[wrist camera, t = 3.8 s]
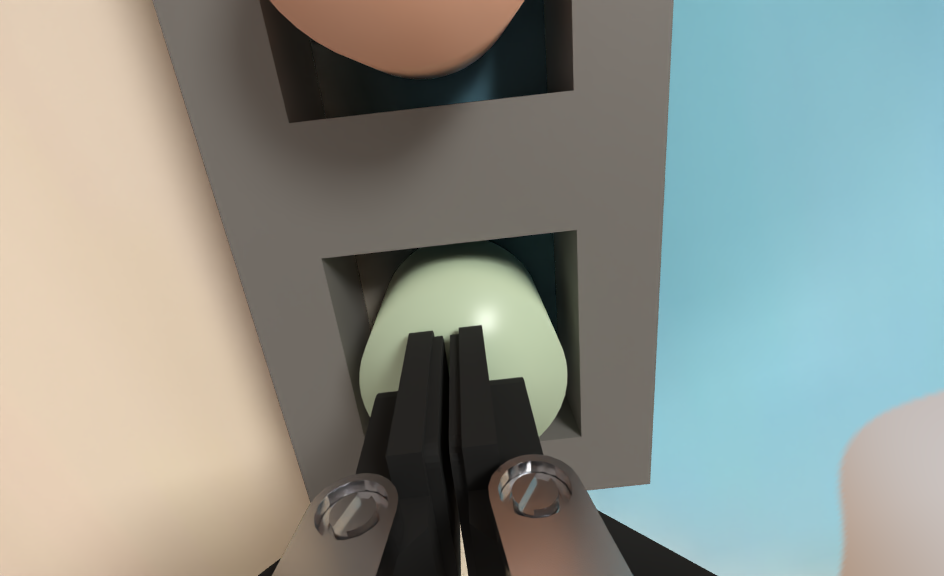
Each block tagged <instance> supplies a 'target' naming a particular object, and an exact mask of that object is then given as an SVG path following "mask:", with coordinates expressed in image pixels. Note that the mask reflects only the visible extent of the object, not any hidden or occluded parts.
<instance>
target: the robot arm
mask: <svg viewBox="0 0 944 576" xmlns="http://www.w3.org/2000/svg"><path fill="white" fill-rule="evenodd" d="M460 525H461V531H462V538H463V544H464V550H465V557H466V563H467V569H468V576H717V575H715V574H713V573H711V572H709V571H708V570H706V569H704V568H702V567H700V566H698V565H697V564H695V563H693V562H691V561H689V560H687V559H686V558H684V557H682V556H680V555H678V554H677V553H675V552H673V551H671V550H669V549H667V548H666V547H664V546H662V545H660V544H658V543H656V542H655V541H653V540H651V539H649V538H647V537H646V536H644V535H642V534H640V533H638V532H636V531H635V530H633V529H631V528H629V527H627V526H625V525H624V524H622V523H620V522H618V521H616V520H615V519H613V518H611V517H609V516H607V515H605V514H604V513H602V512H600V511H598V510H597V509H596V507H595V505H594V504H593V502H592V500H591V498H590V496H589V494H588V493H587V491H586V489H585V487H584V485H583V484H582V482H581V480H580V478H579V476H578V475H577V474H576V473H575V471H574V470H573V469H572V468H571V467H570V466H568V465H567V464H566V463H564V462H563V461H561V460H559V459H556V458H553V457H551V456H547V455H543V451H542V447H541V443H540V440H539V436H538V432H537V428H536V424H535V420H534V416H533V413H532V409H531V405H530V401H529V397H528V393H527V389H526V385H525V382H524V378H523V377H516V378H507V379H498V380H490V381H489V374H488V367H487V359H486V352H485V344H484V337H483V329H482V325H477V326H468V327H459V334H453V335H450V371H448V365H447V358H446V351H445V344H444V338H443V336H434V332H433V331H424V332H415V333H409V335H408V340H407V346H406V351H405V356H404V361H403V367H402V372H401V377H400V383H399V388H398V391H392V392H383V393H378V394H377V395H376V398H375V401H374V405H373V409H372V412H371V416H370V420H369V424H368V428H367V432H366V435H365V439H364V443H363V447H362V451H361V454H360V458H359V462H358V466H357V470H356V474H353V475H350V476H347V477H345V478H342V479H339V480H337V481H336V482H334V483H332V484H330V485H329V486H327V487H326V488H325V489H324V490H322V491H321V492H320V493H319V494H318V495H317V496H316V497H315V498H314V500H313V501H312V503H311V504H310V505H309V507H308V508H307V510H306V512H305V514H304V516H303V518H302V520H301V522H300V523H299V525H298V527H297V529H296V531H295V533H294V535H293V537H292V539H291V540H290V542H289V544H288V546H287V548H286V550H285V552H284V554H283V556H282V557H281V558H280V559H279V560H278V561H276V562H275V563H274V564H273V565H271V566H270V567H269V568H267V569H266V570H265V571H263V572H262V573H261V574H259V575H258V576H461V556H460Z"/></svg>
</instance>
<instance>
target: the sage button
mask: <svg viewBox="0 0 944 576" xmlns="http://www.w3.org/2000/svg"><path fill="white" fill-rule="evenodd" d="M477 325H482V329H483V337H484V344H485V352H486V359H487V367H488V374H489V381H490V380H498V379H507V378H516V377H523V378H524V382H525V385H526V389H527V393H528V397H529V401H530V405H531V409H532V413H533V416H534V420H535V424H536V428H537V432H538V436H541V435H542V434H543V432H544V431H545V430H546V429H547V428H548V427H549V426H550V424H551V423H552V421H553V420H554V419H555V417H556V415H557V413H558V411H559V410H560V408H561V405H562V402H563V400H564V397H565V392H566V387H567V364H566V359H565V355H564V352H563V349H562V346H561V344H560V342H559V339H558V337H557V335H556V332H555V330H554V328H553V326H552V323H551V321H550V319H549V316H548V314H547V312H546V309H545V307H544V305H543V302H542V300H541V298H540V296H539V293H538V291H537V289H536V286H535V284H534V282H533V280H532V277H531V275H530V274H529V272H528V271H527V269H526V268H525V266H524V265H523V264H522V263H521V262H520V261H519V260H518V259H517V258H516V257H515V256H514V255H513V254H511V253H510V252H509V251H507V250H506V249H504V248H502V247H500V246H498V245H496V244H494V243H491V242H488V241H486V240H482V241H473V242H464V243H455V244H447V245H438V246H429V247H422V248H420V249H419V250H417V251H415V252H414V253H413V254H411V255H410V256H409V257H408V258H407V259H406V260H405V261H404V262H403V263H402V264H401V265H400V266H399V267H398V269H397V270H396V272H395V273H394V275H393V277H392V279H391V281H390V283H389V285H388V288H387V291H386V294H385V296H384V299H383V302H382V304H381V307H380V310H379V312H378V315H377V318H376V321H375V323H374V326H373V329H372V331H371V334H370V337H369V340H368V342H367V345H366V348H365V351H364V354H363V357H362V360H361V366H360V390H361V396H362V399H363V403H364V406H365V408H366V410H367V412H368V414H369V416H371V412H372V409H373V405H374V401H375V398H376V395H377V394H378V393H383V392H392V391H398V388H399V383H400V377H401V372H402V367H403V361H404V356H405V351H406V346H407V340H408V335H409V333H415V332H424V331H433V332H434V336H443V338H444V344H445V351H446V358H447V365H448V371H450V335H453V334H459V327H468V326H477Z"/></svg>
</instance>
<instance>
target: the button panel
mask: <svg viewBox="0 0 944 576" xmlns="http://www.w3.org/2000/svg"><path fill="white" fill-rule="evenodd" d="M152 1H153V4H154V7H155V10H156V13H157V17H158V20H159V23H160V26H161V29H162V32H163V36H164V39H165V42H166V45H167V48H168V51H169V55H170V58H171V61H172V64H173V67H174V70H175V74H176V77H177V80H178V83H179V86H180V90H181V93H182V96H183V99H184V102H185V105H186V109H187V112H188V115H189V118H190V121H191V124H192V128H193V131H194V134H195V137H196V140H197V144H198V147H199V150H200V153H201V156H202V159H203V163H204V166H205V169H206V172H207V175H208V178H209V182H210V185H211V188H212V191H213V194H214V197H215V201H216V204H217V207H218V210H219V213H220V217H221V220H222V223H223V226H224V229H225V232H226V236H227V239H228V242H229V245H230V248H231V251H232V255H233V258H234V261H235V264H236V267H237V270H238V274H239V277H240V280H241V283H242V286H243V290H244V293H245V296H246V299H247V302H248V305H249V309H250V312H251V315H252V318H253V321H254V324H255V328H256V331H257V334H258V337H259V340H260V343H261V347H262V350H263V353H264V356H265V359H266V363H267V366H268V369H269V372H270V375H271V378H272V382H273V385H274V388H275V391H276V394H277V397H278V401H279V404H280V407H281V410H282V413H283V416H284V420H285V423H286V426H287V429H288V432H289V436H290V439H291V442H292V445H293V448H294V451H295V455H296V458H297V461H298V464H299V467H300V470H301V474H302V477H303V480H304V483H305V486H306V490H307V493H308V496H309V499H310V502H311V503H312V501H313V500H314V498H315V497H316V496H317V495H318V494H319V493H320V492H321V491H322V490H324V489H325V488H326V487H327V486H329V485H330V484H332V483H334V482H336V481H337V480H339V479H342V478H345V477H347V476H350V475H353V474H356V470H357V466H358V462H359V458H360V454H361V451H362V447H363V443H364V439H365V435H366V432H367V428H368V424H369V420H370V416H369V414H368V412H367V410H366V408H365V406H364V403H363V399H362V396H361V390H360V366H361V360H362V357H363V354H364V351H365V348H366V345H367V342H368V340H369V337H370V334H371V329H370V324H369V320H368V315H367V310H366V305H365V301H364V296H363V291H362V286H361V282H360V277H359V272H358V268H357V263H356V258H355V255H357V254H366V253H375V252H384V251H393V250H402V249H411V248H420V247H429V246H438V245H447V244H455V243H464V242H473V241H482V240H491V239H500V238H509V237H518V236H527V235H536V234H545V233H553V238H554V261H555V285H556V309H557V333H558V339H559V342H560V344H561V346H562V349H563V352H564V355H565V359H566V364H567V387H566V392H565V397H564V400H563V402H562V405H561V408H560V410H559V411H558V413H557V415H556V417H555V419H554V420H553V421H552V423H551V424H550V426H549V427H548V428H547V429H546V430H545V431H544V432H543V434H542V435H541V436H539V440H540V443H541V447H542V451H543V455H547V456H551V457H553V458H556V459H559V460H561V461H563V462H564V463H566V464H567V465H568V466H570V467H571V468H572V469H573V470H574V471H575V473H576V474H577V475H578V476H579V478H580V480H581V482H582V484H583V485H584V487H585V489H586V490H596V489H605V488H614V487H624V486H633V485H642V484H650V472H651V452H652V431H653V411H654V390H655V370H656V349H657V328H658V308H659V287H660V267H661V246H662V226H663V205H664V185H665V164H666V144H667V123H668V102H669V82H670V61H671V41H672V20H673V0H544V23H545V47H546V71H547V93H545V94H536V95H527V96H519V97H510V98H501V99H493V100H484V101H475V102H466V103H458V104H449V105H440V106H432V107H423V108H414V109H406V110H397V111H388V112H380V113H371V114H362V115H353V116H345V117H336V118H327V119H326V116H325V111H324V107H323V102H322V97H321V92H320V88H319V83H318V78H317V73H316V69H315V64H314V59H313V55H312V50H311V45H310V40H309V36H308V35H306V34H305V33H303V32H302V31H301V30H299V29H298V28H297V27H296V26H294V25H293V24H292V23H291V22H290V21H289V20H288V19H287V18H286V17H285V16H284V15H283V14H282V13H280V12H279V11H278V9H277V8H276V7H275V6H274V5H273V4H272V3H271V1H270V0H152Z"/></svg>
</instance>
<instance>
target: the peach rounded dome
mask: <svg viewBox="0 0 944 576" xmlns="http://www.w3.org/2000/svg"><path fill="white" fill-rule="evenodd" d="M270 1H271V3H272V4H273V5H274V6H275V7H276V8H277V9H278V11H279V12H280V13H282V14H283V15H284V16H285V17H286V18H287V19H288V20H289V21H290V22H291V23H292V24H293V25H294V26H296V27H297V28H298V29H299V30H301V31H302V32H303V33H305V34H306V35H308V36H309V37H310V38H312V39H313V40H314V41H316V42H318V43H319V44H321V45H323V46H325V47H327V48H329V49H330V50H332V51H334V52H336V53H338V54H341V55H343V56H345V57H348V58H350V59H353V60H355V61H357V62H360V63H362V64H364V65H367V66H369V67H372V68H374V69H376V70H379V71H381V72H384V73H387V74H389V75H392V76H397V77H401V78H406V79H416V80H419V79H433V78H438V77H444V76H447V75H450V74H452V73H455V72H458V71H460V70H462V69H464V68H466V67H467V66H469V65H471V64H472V63H474V62H475V61H476V60H478V59H479V58H481V57H482V56H483V55H484V54H485V53H486V52H487V51H488V50H489V49H490V48H491V47H492V46H493V45H494V44H495V42H496V41H497V40H498V39H499V38H500V36H501V35H502V33H503V32H504V30H505V29H506V27H507V26H508V24H509V23H510V21H511V20H512V18H513V17H514V15H515V14H516V12H517V11H518V9H519V8H520V6H521V5H522V3H523V2H524V0H270Z"/></svg>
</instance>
